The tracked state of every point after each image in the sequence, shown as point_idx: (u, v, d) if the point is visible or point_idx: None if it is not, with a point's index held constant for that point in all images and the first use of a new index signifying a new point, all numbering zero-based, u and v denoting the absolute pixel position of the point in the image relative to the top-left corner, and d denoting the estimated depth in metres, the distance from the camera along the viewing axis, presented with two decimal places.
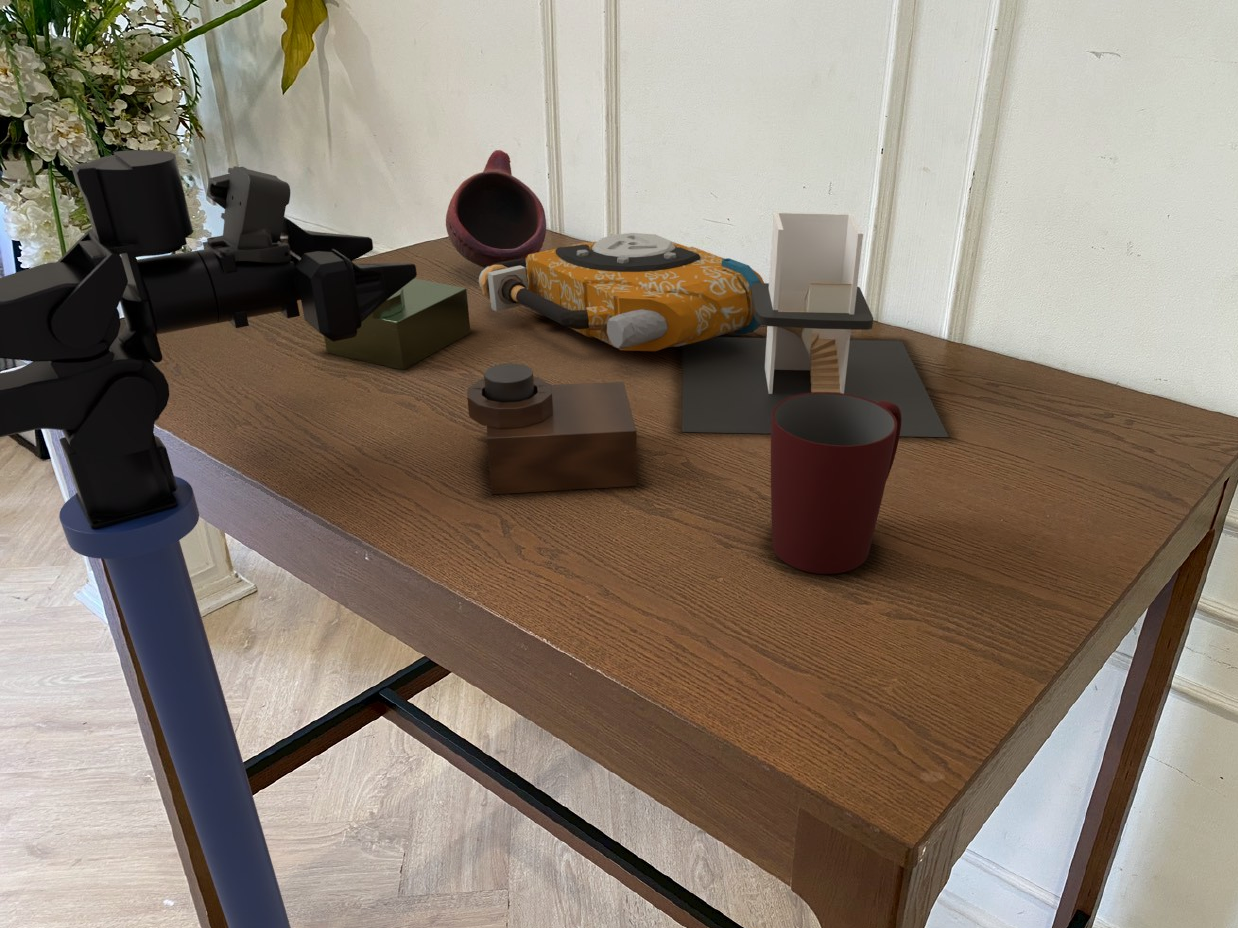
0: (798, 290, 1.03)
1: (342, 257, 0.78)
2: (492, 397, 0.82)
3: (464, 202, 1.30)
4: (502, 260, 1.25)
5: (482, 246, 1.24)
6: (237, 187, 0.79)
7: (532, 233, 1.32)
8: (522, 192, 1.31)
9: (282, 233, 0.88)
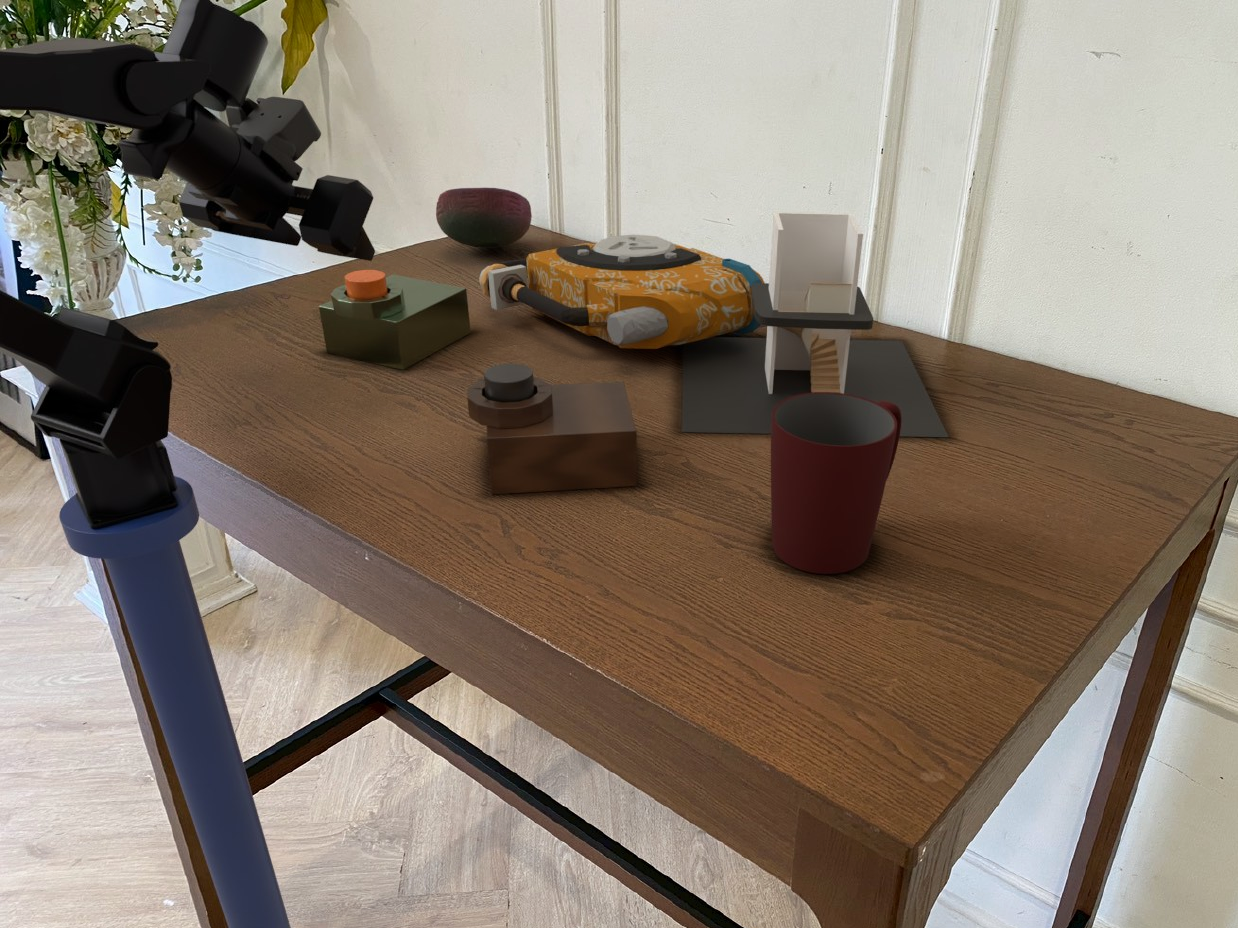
0: (798, 290, 1.03)
1: None
2: (492, 397, 0.82)
3: None
4: (486, 192, 1.29)
5: (466, 188, 1.30)
6: (275, 108, 0.87)
7: None
8: None
9: None
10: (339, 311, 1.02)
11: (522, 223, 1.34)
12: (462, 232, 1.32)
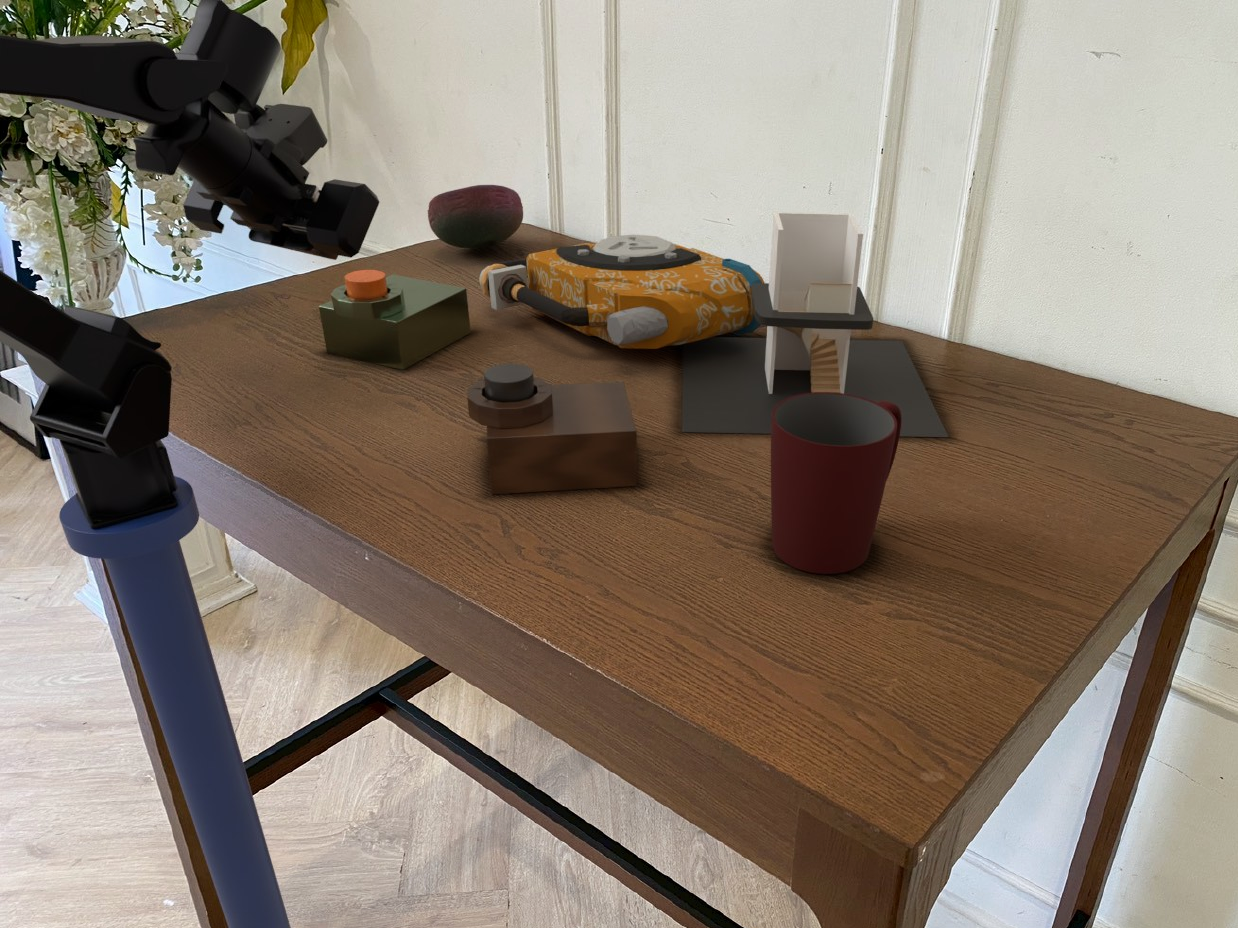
0: (798, 290, 1.03)
1: None
2: (492, 397, 0.82)
3: None
4: (471, 190, 1.29)
5: None
6: (284, 114, 0.89)
7: None
8: None
9: None
10: (339, 311, 1.02)
11: (514, 215, 1.33)
12: (456, 235, 1.32)
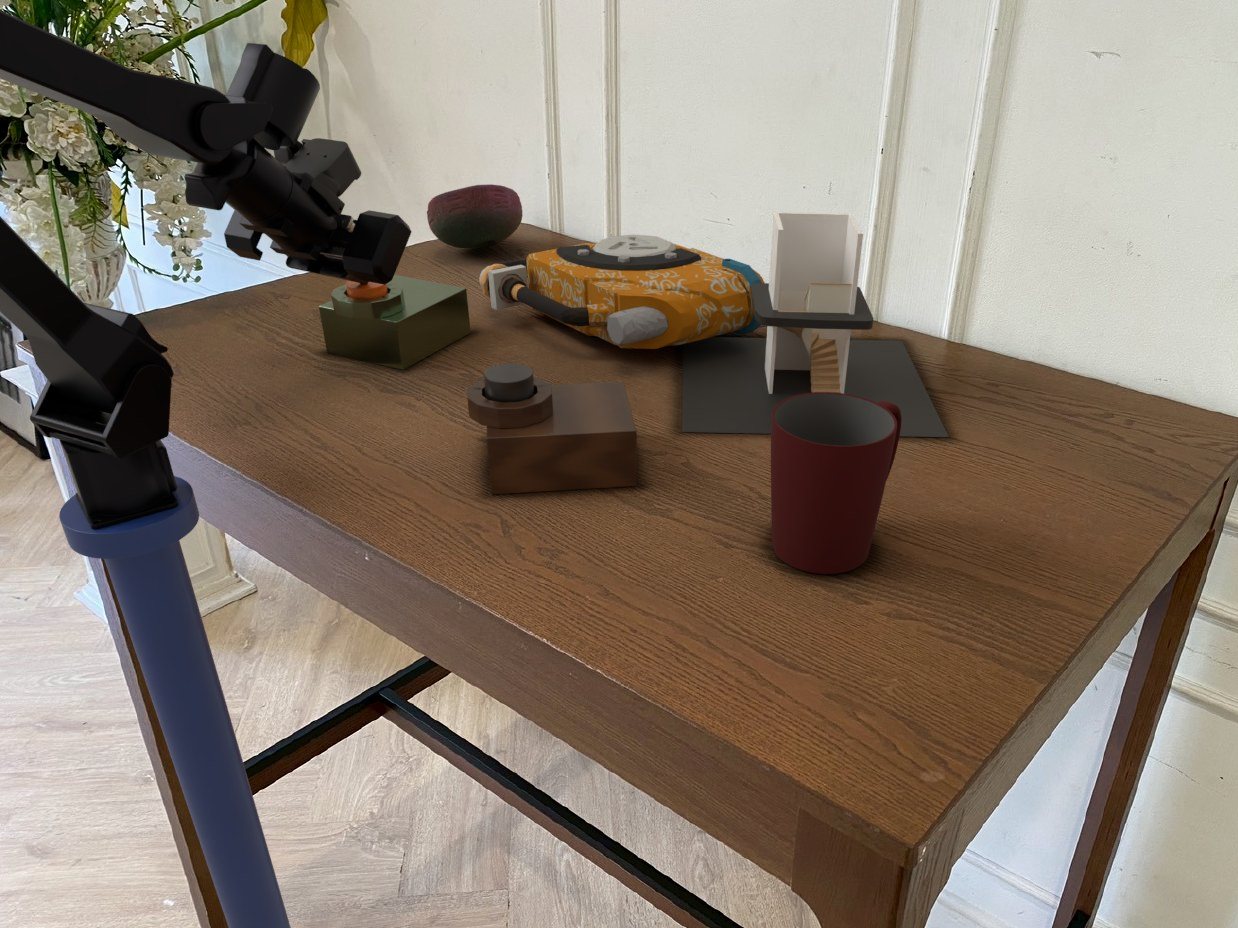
0: (798, 290, 1.03)
1: None
2: (492, 397, 0.82)
3: None
4: (470, 191, 1.29)
5: (450, 191, 1.30)
6: (321, 148, 0.94)
7: None
8: None
9: None
10: (339, 311, 1.02)
11: (513, 215, 1.33)
12: (456, 236, 1.33)
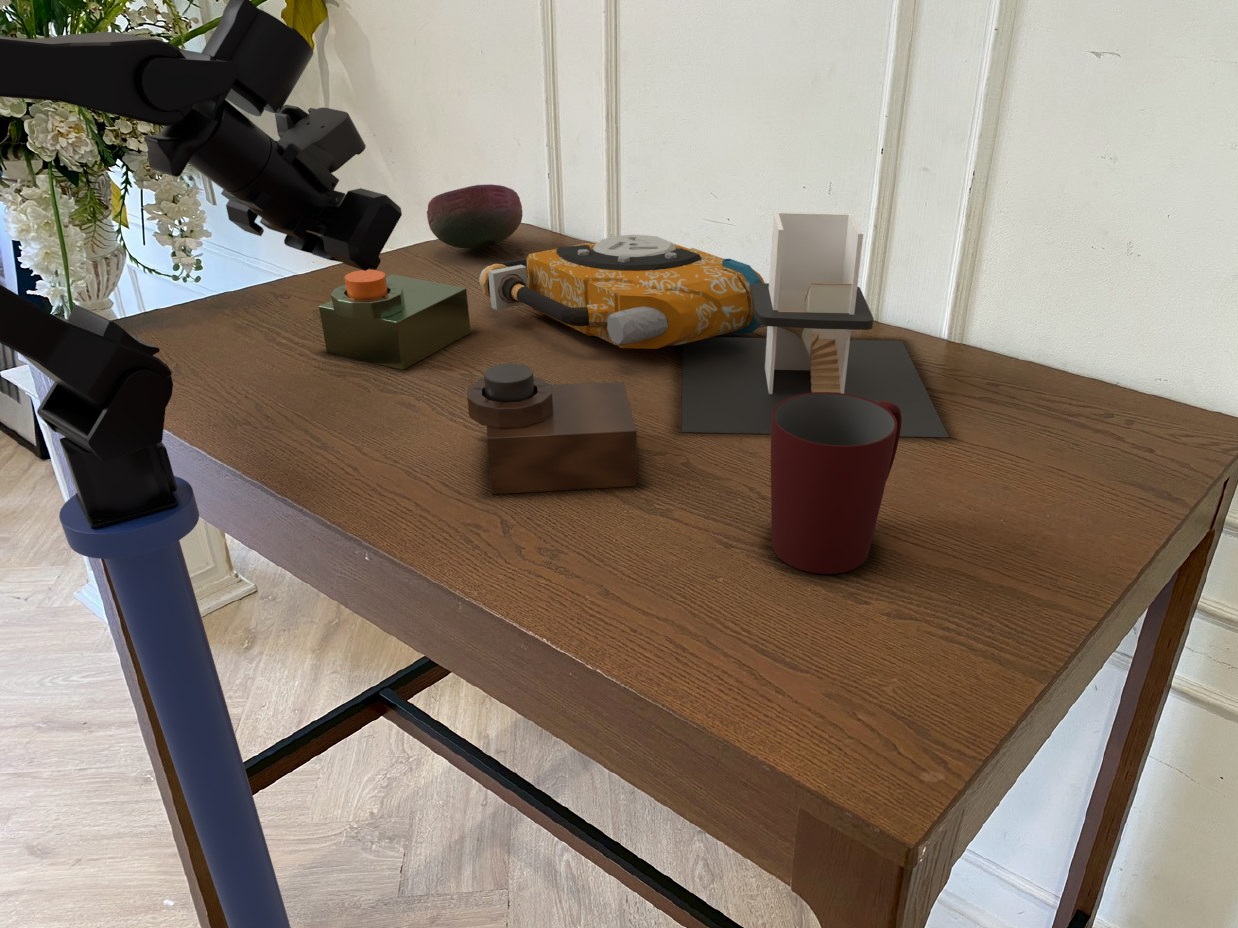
0: (798, 290, 1.03)
1: None
2: (492, 397, 0.82)
3: None
4: (470, 191, 1.29)
5: (450, 191, 1.30)
6: (322, 118, 0.86)
7: None
8: None
9: None
10: (339, 311, 1.02)
11: (513, 215, 1.33)
12: (456, 236, 1.33)
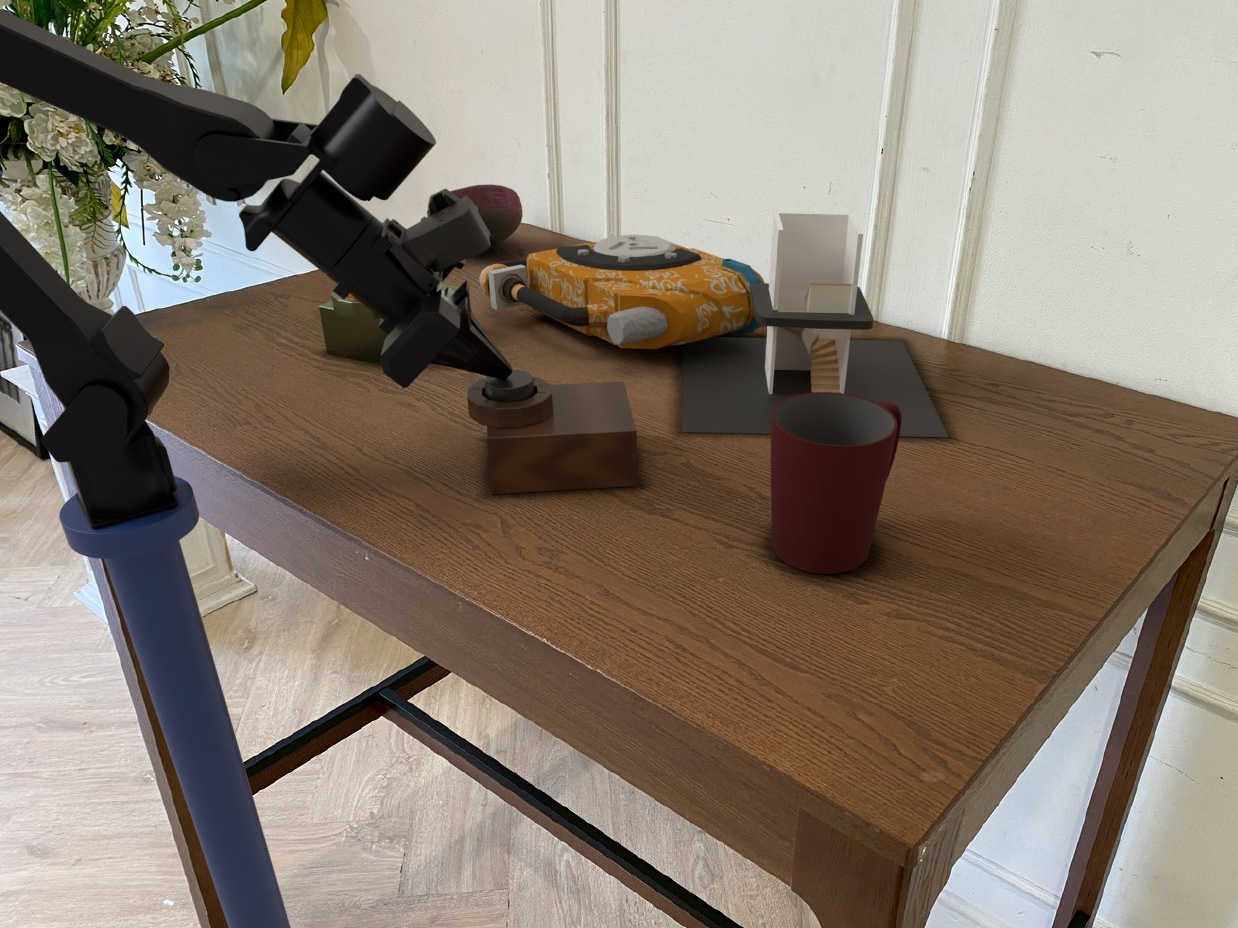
0: (798, 290, 1.03)
1: (464, 307, 0.77)
2: None
3: None
4: (470, 191, 1.29)
5: (450, 191, 1.30)
6: (453, 210, 0.76)
7: None
8: None
9: (452, 296, 0.81)
10: (339, 311, 1.02)
11: (513, 215, 1.33)
12: None
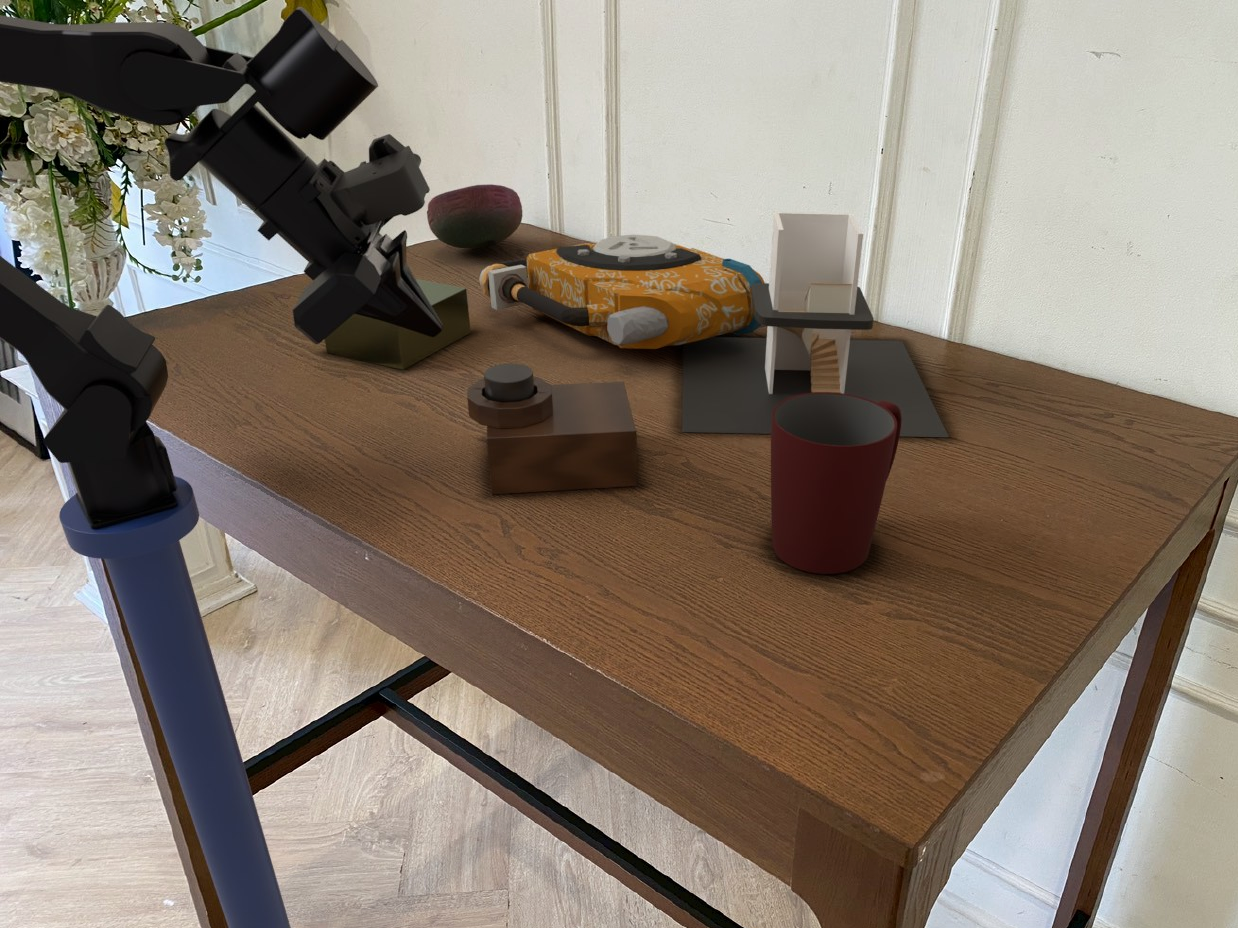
0: (798, 290, 1.03)
1: (391, 264, 0.75)
2: (492, 397, 0.82)
3: None
4: (470, 191, 1.29)
5: (450, 191, 1.30)
6: (390, 163, 0.73)
7: None
8: None
9: (388, 245, 0.79)
10: None
11: (513, 215, 1.33)
12: (456, 236, 1.33)
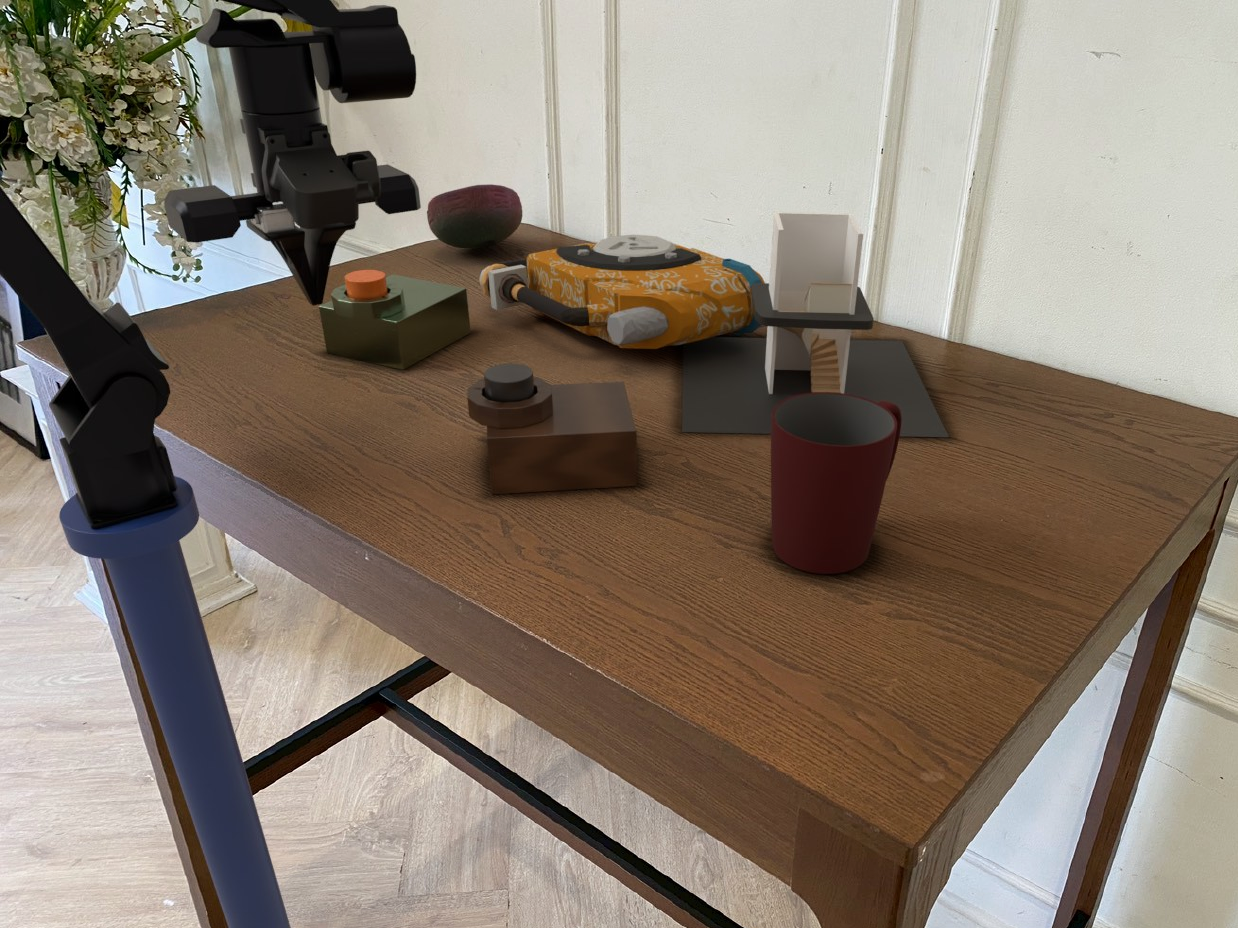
0: (798, 290, 1.03)
1: (276, 235, 0.79)
2: (492, 397, 0.82)
3: None
4: (470, 191, 1.29)
5: (450, 191, 1.30)
6: (326, 179, 0.75)
7: None
8: None
9: None
10: (339, 311, 1.02)
11: (513, 215, 1.33)
12: (456, 236, 1.33)
